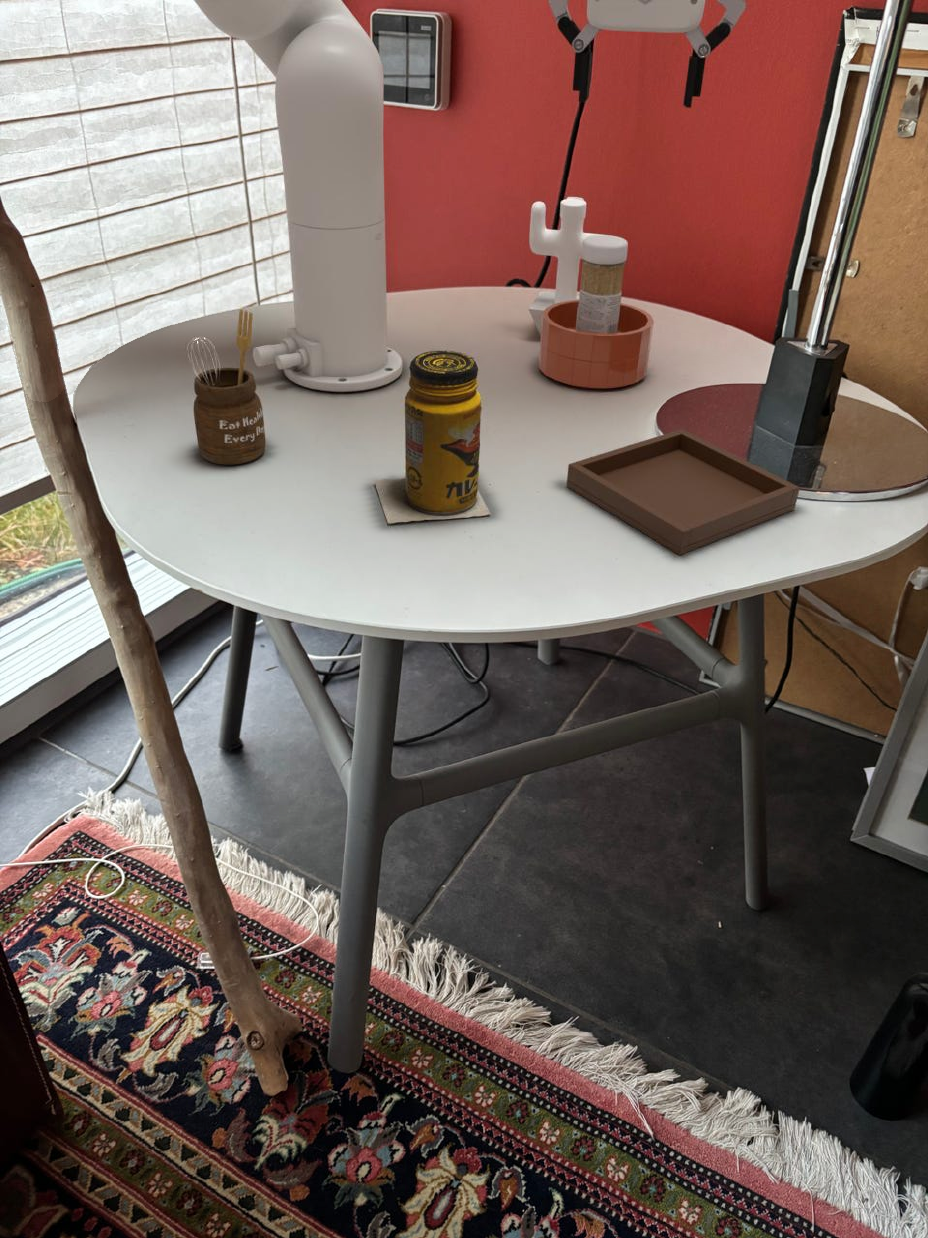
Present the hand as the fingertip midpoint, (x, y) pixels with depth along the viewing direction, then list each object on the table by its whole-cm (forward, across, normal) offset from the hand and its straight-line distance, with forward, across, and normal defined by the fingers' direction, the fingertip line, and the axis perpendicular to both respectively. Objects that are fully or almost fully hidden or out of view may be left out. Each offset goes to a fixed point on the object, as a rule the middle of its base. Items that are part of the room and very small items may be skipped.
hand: (635, 102), depth 91 cm
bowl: (+26, -2, 0) cm, 26 cm away
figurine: (+26, -6, +11) cm, 29 cm away
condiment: (+26, -12, -33) cm, 44 cm away
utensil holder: (+26, -31, -28) cm, 50 cm away
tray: (+26, +8, -27) cm, 39 cm away
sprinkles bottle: (+26, -2, 0) cm, 26 cm away
